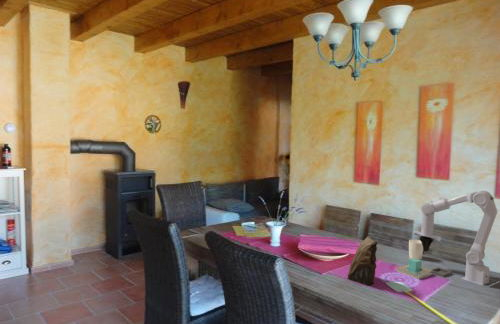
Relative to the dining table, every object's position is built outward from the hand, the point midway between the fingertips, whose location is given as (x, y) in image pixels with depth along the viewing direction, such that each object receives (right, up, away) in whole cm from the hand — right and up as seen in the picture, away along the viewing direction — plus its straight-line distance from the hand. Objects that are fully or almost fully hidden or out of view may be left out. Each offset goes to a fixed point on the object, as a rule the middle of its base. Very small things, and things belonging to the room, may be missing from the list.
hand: (425, 251), depth 192 cm
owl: (-40, -10, -18) cm, 45 cm away
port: (-10, -10, -8) cm, 16 cm away
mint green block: (-10, -10, -8) cm, 16 cm away
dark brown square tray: (+4, -10, -7) cm, 13 cm away
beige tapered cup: (+2, -9, +17) cm, 19 cm away
